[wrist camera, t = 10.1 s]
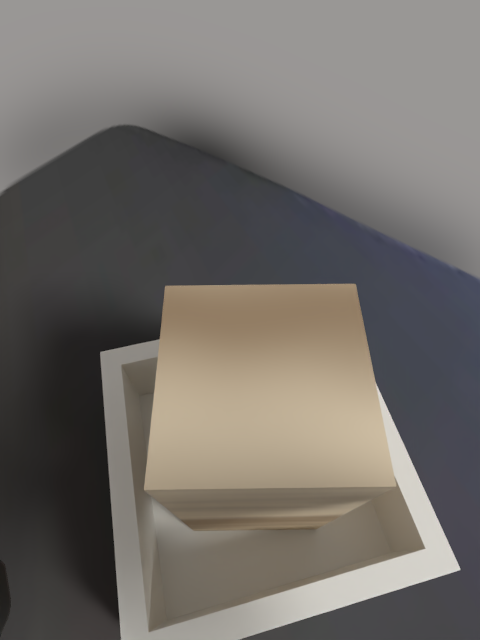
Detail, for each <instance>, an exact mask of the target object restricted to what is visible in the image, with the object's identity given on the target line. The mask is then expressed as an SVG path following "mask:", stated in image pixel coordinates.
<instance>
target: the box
mask: <svg viewBox="0 0 480 640" xmlns="http://www.w3.org/2000/svg"><path fill="white" fill-rule="evenodd" d="M159 342H160V339H159V340H154V341H150V342H145V343H140V344H135V345H131V346H126V347H121V348H117V349H112V350H107V351H103V352H100V359H101V372H102V386H103V399H104V413H105V427H106V440H107V454H108V468H109V481H110V495H111V508H112V522H113V536H114V549H115V563H116V577H117V590H118V604H119V617H120V631H121V640H238V639H242V638H245V637H248V636H251V635H254V634H258V633H261V632H264V631H267V630H270V629H274V628H277V627H280V626H283V625H286V624H290V623H293V622H296V621H299V620H302V619H305V618H309V617H312V616H315V615H318V614H321V613H325V612H328V611H331V610H334V609H337V608H341V607H344V606H347V605H350V604H353V603H357V602H360V601H363V600H366V599H369V598H372V597H376V596H379V595H382V594H385V593H388V592H392V591H395V590H398V589H401V588H404V587H408V586H411V585H414V584H417V583H420V582H424V581H427V580H430V579H433V578H436V577H439V576H443V575H446V574H449V573H452V572H455V571H459V570H461V569H460V567H459V565H458V563H457V561H456V558H455V556H454V554H453V552H452V550H451V547H450V545H449V543H448V541H447V539H446V536H445V534H444V532H443V530H442V528H441V525H440V523H439V521H438V519H437V517H436V514H435V512H434V510H433V508H432V506H431V503H430V501H429V499H428V497H427V495H426V492H425V490H424V488H423V486H422V484H421V481H420V479H419V477H418V475H417V473H416V470H415V468H414V466H413V464H412V462H411V460H410V457H409V455H408V453H407V451H406V449H405V446H404V444H403V442H402V440H401V438H400V435H399V433H398V431H397V429H396V427H395V424H394V422H393V420H392V418H391V416H390V413H389V411H388V409H387V407H386V405H385V402H384V400H383V398H382V396H381V394H380V391H379V389H378V387H377V385H376V388H377V393H378V398H379V403H380V408H381V413H382V418H383V423H384V428H385V433H386V437H387V442H388V447H389V452H390V457H391V462H392V467H393V472H394V477H395V482H396V487H395V488H393V489H391V490H389V491H387V492H385V493H383V494H382V495H380V496H378V497H376V498H374V499H372V500H370V501H368V502H367V503H365V504H363V505H361V506H359V507H357V508H355V509H353V510H352V511H350V512H348V513H346V514H344V515H342V516H340V517H338V518H336V519H335V520H333V521H331V522H329V523H327V524H325V525H323V526H321V527H320V528H318V529H300V530H227V531H193V530H192V529H191V528H190V527H188V526H187V525H186V524H185V523H184V522H182V521H181V520H180V519H179V518H178V517H176V516H175V515H174V514H173V513H171V512H170V511H169V510H168V509H167V508H165V507H164V506H163V505H162V504H160V503H159V502H158V501H157V500H156V499H154V498H153V497H152V496H151V495H149V494H148V493H147V492H146V491H145V490H144V484H145V474H146V465H147V456H148V446H149V437H150V427H151V418H152V408H153V399H154V389H155V380H156V370H157V361H158V351H159Z"/></svg>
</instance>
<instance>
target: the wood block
mask: <svg viewBox="0 0 480 640" xmlns="http://www.w3.org/2000/svg"><path fill="white" fill-rule="evenodd" d="M395 487H396V482H395V477H394V472H393V467H392V462H391V457H390V452H389V447H388V442H387V437H386V433H385V428H384V423H383V418H382V413H381V408H380V403H379V398H378V393H377V388H376V383H375V378H374V373H373V368H372V363H371V358H370V353H369V348H368V343H367V338H366V334H365V329H364V324H363V319H362V314H361V309H360V304H359V299H358V294H357V289H356V284H294V285H201V286H165V294H164V304H163V313H162V323H161V332H160V342H159V351H158V361H157V370H156V380H155V389H154V399H153V408H152V418H151V427H150V437H149V446H148V456H147V465H146V474H145V484H144V490H145V491H146V492H147V493H148V494H149V495H151V496H152V497H153V498H154V499H156V500H157V501H158V502H159V503H160V504H162V505H163V506H164V507H165V508H167V509H168V510H169V511H170V512H171V513H173V514H174V515H175V516H176V517H178V518H179V519H180V520H181V521H182V522H184V523H185V524H186V525H187V526H188V527H190V528H191V529H192V530H193V531H227V530H300V529H318V528H320V527H321V526H323V525H325V524H327V523H329V522H331V521H333V520H335V519H336V518H338V517H340V516H342V515H344V514H346V513H348V512H350V511H352V510H353V509H355V508H357V507H359V506H361V505H363V504H365V503H367V502H368V501H370V500H372V499H374V498H376V497H378V496H380V495H382V494H383V493H385V492H387V491H389V490H391V489H393V488H395Z"/></svg>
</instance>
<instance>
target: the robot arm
mask: <svg viewBox="0 0 480 640" xmlns="http://www.w3.org/2000/svg"><path fill="white" fill-rule="evenodd" d="M10 607H11V597H10V591H9V585H8V579H7V573H6V568H5V564H4V563H3V561H1V560H0V636H1V634H2V631H3V629H4V626H5V624H6V621H7V619H8V616H9V612H10Z"/></svg>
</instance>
